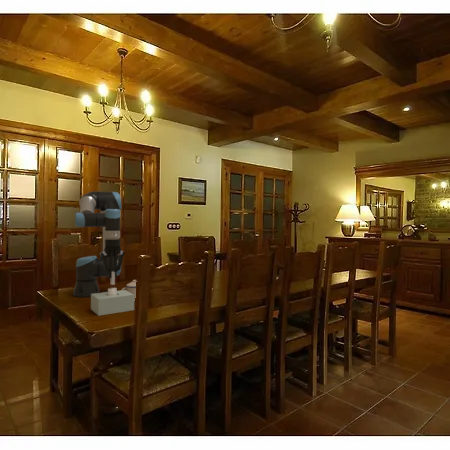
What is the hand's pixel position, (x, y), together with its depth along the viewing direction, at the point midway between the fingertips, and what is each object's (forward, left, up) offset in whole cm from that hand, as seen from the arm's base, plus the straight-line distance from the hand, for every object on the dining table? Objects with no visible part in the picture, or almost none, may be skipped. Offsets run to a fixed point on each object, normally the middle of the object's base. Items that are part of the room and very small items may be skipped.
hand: (112, 284), depth 176 cm
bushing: (0, 0, -13) cm, 13 cm away
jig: (0, 0, -13) cm, 13 cm away
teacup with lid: (-14, +16, -14) cm, 25 cm away
